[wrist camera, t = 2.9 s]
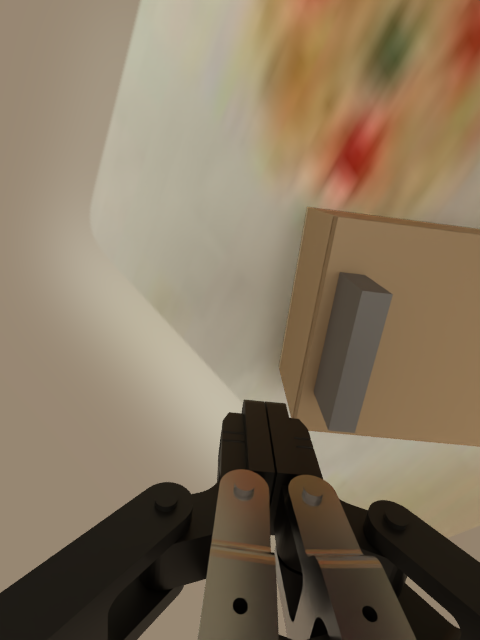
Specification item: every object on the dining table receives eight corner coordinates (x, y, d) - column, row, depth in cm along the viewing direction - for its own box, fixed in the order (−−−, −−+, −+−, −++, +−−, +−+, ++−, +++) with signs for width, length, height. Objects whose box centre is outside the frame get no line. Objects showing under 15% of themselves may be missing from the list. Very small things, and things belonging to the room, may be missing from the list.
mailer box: (549, 238, 30) (655, 256, 23) (489, 388, 35) (559, 444, 27) (307, 207, 29) (332, 215, 21) (278, 366, 34) (291, 419, 26)
